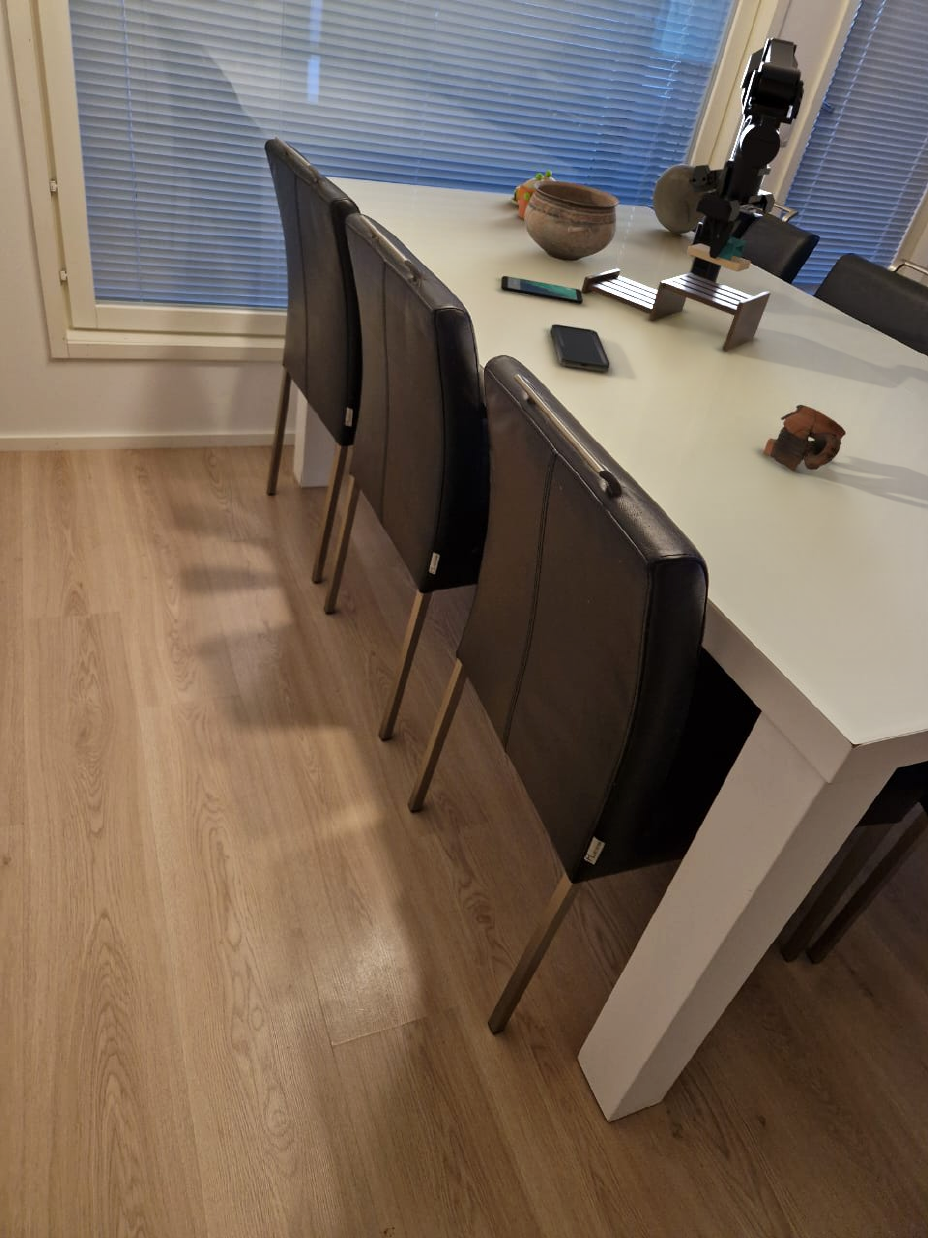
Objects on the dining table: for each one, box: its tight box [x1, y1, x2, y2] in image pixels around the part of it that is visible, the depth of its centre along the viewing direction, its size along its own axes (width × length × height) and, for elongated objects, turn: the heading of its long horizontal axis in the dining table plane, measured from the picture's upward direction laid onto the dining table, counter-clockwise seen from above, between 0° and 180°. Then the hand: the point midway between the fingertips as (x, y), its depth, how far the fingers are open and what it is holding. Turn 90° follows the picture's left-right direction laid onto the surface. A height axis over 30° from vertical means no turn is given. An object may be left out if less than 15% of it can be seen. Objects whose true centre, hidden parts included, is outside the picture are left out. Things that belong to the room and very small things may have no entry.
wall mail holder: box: [686, 236, 752, 273], centre depth 149 cm, size 5×10×4 cm, turn 51°
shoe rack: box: [580, 268, 771, 353], centre depth 158 cm, size 12×31×8 cm, turn 51°
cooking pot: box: [523, 180, 620, 262], centre depth 177 cm, size 25×19×12 cm
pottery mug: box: [762, 404, 847, 472], centre depth 118 cm, size 12×10×8 cm
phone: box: [549, 323, 611, 373], centre depth 138 cm, size 8×1×15 cm
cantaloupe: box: [652, 163, 712, 235], centre depth 209 cm, size 14×14×15 cm
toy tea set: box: [510, 170, 556, 220], centre depth 204 cm, size 26×16×10 cm, turn 7°
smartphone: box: [500, 275, 584, 305], centre depth 159 cm, size 7×1×15 cm
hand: (719, 255), depth 150 cm, fingers closed on wall mail holder, 5 cm apart
